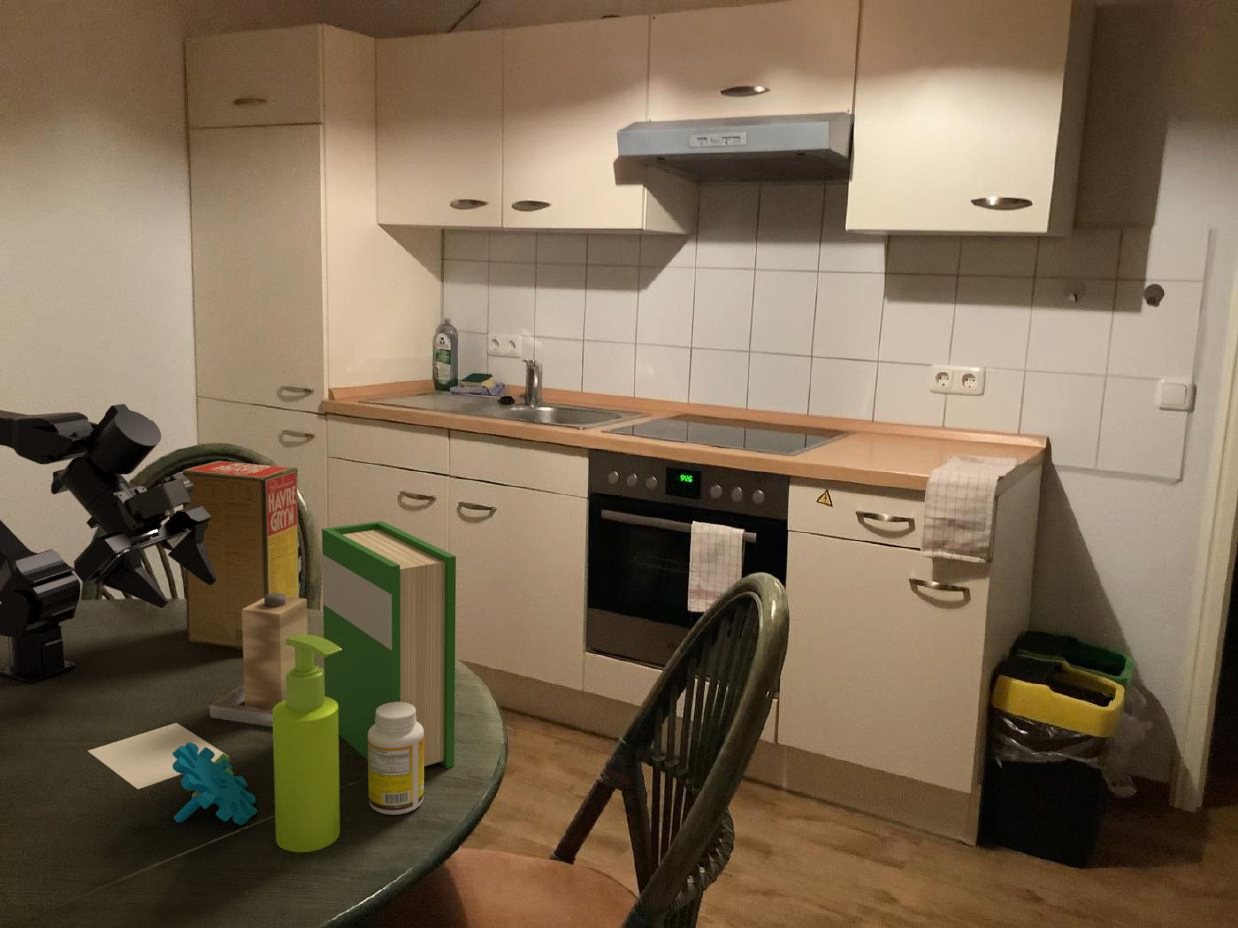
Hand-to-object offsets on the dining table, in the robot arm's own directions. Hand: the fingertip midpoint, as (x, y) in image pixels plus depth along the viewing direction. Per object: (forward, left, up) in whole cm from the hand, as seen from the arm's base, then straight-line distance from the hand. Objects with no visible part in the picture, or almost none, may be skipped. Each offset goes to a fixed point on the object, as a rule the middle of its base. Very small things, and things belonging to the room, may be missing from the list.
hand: (190, 593), depth 125 cm
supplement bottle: (+38, -8, -14) cm, 41 cm away
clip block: (+11, +3, -13) cm, 17 cm away
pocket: (+11, +3, -13) cm, 17 cm away
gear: (+24, -19, -14) cm, 33 cm away
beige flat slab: (+9, -13, -13) cm, 21 cm away
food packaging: (-10, +19, -14) cm, 25 cm away
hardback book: (+29, +2, -14) cm, 32 cm away
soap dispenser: (+35, -17, -14) cm, 41 cm away
